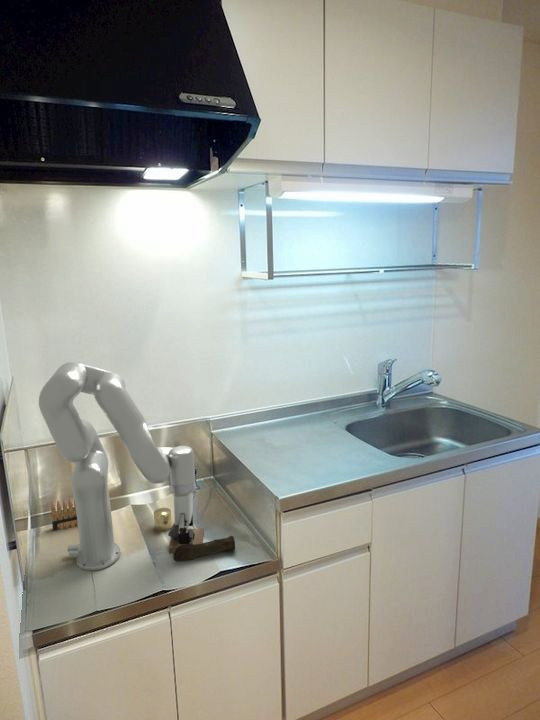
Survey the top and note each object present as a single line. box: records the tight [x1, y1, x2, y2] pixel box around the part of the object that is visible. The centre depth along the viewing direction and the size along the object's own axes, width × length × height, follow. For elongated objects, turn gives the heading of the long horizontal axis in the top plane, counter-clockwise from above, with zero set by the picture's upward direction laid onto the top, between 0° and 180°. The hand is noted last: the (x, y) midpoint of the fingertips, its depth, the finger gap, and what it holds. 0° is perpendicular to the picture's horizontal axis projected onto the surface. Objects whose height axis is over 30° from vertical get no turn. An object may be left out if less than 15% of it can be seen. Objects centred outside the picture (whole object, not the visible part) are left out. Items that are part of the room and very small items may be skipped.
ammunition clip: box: [50, 497, 78, 532], centre depth 154 cm, size 11×2×12 cm, turn 113°
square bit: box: [167, 522, 194, 542], centre depth 146 cm, size 3×3×7 cm
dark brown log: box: [172, 535, 236, 562], centre depth 140 cm, size 19×4×5 cm, turn 106°
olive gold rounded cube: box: [153, 507, 173, 533], centre depth 154 cm, size 6×6×6 cm
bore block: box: [168, 527, 205, 554], centre depth 146 cm, size 10×10×2 cm
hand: (186, 534), depth 146 cm, fingers open, 9 cm apart
